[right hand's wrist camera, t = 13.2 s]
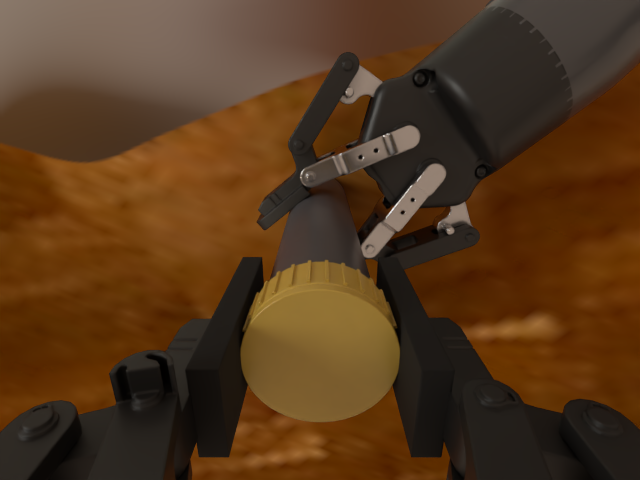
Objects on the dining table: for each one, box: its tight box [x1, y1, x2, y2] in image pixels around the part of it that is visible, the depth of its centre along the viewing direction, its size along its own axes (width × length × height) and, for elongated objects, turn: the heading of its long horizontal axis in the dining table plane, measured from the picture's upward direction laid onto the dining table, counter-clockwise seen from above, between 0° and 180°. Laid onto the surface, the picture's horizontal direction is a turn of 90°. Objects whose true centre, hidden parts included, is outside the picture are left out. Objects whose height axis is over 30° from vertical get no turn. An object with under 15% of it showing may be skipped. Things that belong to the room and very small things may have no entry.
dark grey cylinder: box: [270, 179, 370, 280], centre depth 20 cm, size 4×4×19 cm
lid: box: [240, 260, 400, 422], centre depth 11 cm, size 5×5×2 cm
